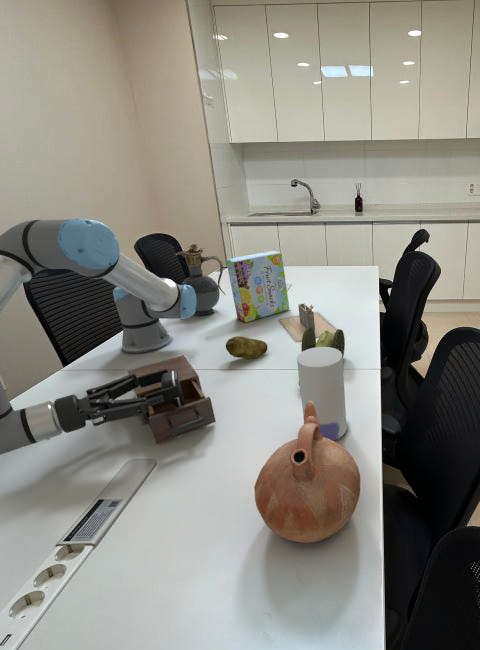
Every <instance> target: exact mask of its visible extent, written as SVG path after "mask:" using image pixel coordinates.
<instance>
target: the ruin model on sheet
mask: <svg viewBox="0 0 480 650" xmlns="http://www.w3.org/2000/svg"><path fill="white" fill-rule="evenodd" d="M297 307H298V316H293V317H288V318H283V319H279V322H281V324H282V325H283V327H285V329H286V330H287V331H288V332H289V334H290V335H291V336H292V338H293V339H294V340H295V341H296V342H302V337H303V334H304V331H305V330H306V328H313V330H314V332H315V336H316V338H319V337H320V335H321V334H322V333H323V332H325V331H326V330H327V331H329V332H332V333H333V334H334V335H335V332H336V331H337V329H335V328H334V327H333V326H332V325H331V324H330V323H328V322H327V321H326V320H325V319H324V318H323V317H322V316H320V315H319V314H318V313H317V312H315V313H314V311H312V310H313V309H314V308H315V306H313V304H311V305H310V306H308V305H307V304H305V303H298V306H297Z"/></svg>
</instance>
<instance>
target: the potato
mask: <svg viewBox="0 0 480 650" xmlns="http://www.w3.org/2000/svg"><path fill="white" fill-rule="evenodd" d="M225 350H226V352H228V354H229V355H230V356H232V357H234V358H237V359H238V358H239V359H244V360H254V359H257V358H259V357H261V356H263V355H265V354H266V353H267V352H268V343H267V342H265V340H261V339H256V338H250V337H246V336H241V335H240V336H233V337H231V338H229V339H227V341H226V342H225Z"/></svg>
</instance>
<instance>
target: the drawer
mask: <svg viewBox="0 0 480 650" xmlns="http://www.w3.org/2000/svg"><path fill="white" fill-rule="evenodd" d="M181 387H182V391H183V395H184V399H185V403H186V405H183V406H180V407H177V408H174V407H175V404H173V403H172V402H171V401H170V402H166V401H164V402H161V403H158V404H155V405H152V406H149V410H150V411H149V412H148V414H149V417H148V419H149V422H148V423H149V425H150V428H151V431H152V434H153V438H154V441H155V443H156V445H159V444H161V443H164V442H166V441H169V440H171V439H174V438H176V437H180V436H182V435H184V434H187V433H190V432H192V431H194V430H198V429H200V428H203V427H205V426H208V425H211V424H214V423H216V422H217V421H216V417H215V411H214V407H213V403H212V399H211V397H210V396H207V397H206V396H205V394H204V392H203V390H202V391H201V390H200V388H199V387H198V386H197V384H196V383H195V381H194V380H190V381H187V382H184V383H181ZM161 390H162V389H161ZM158 391H159V390H158ZM155 392H156V391H155ZM152 393H153V392H152ZM148 394H150V393H148ZM145 395H146V394H145ZM145 395H143V398H146V396H145ZM173 408H174V409H173Z"/></svg>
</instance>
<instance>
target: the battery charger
mask: <svg viewBox="0 0 480 650" xmlns="http://www.w3.org/2000/svg"><path fill="white" fill-rule="evenodd" d="M175 385H177V388H178V392H179V395H180V397H176V398H173V399H170V400H167V401H166V402H170V401H171V402H172V403H173V404H175V407H174V408H177V407H180V406H183V405H186V403H185V399H184V395H183V391H182V387H181V384H180V380H179V376H178V372H177V371H172V372H167V373H164V374H163V375H162V377H161V386H162V389H166V388H169V387H172V386H175ZM174 408H173V409H174Z"/></svg>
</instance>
